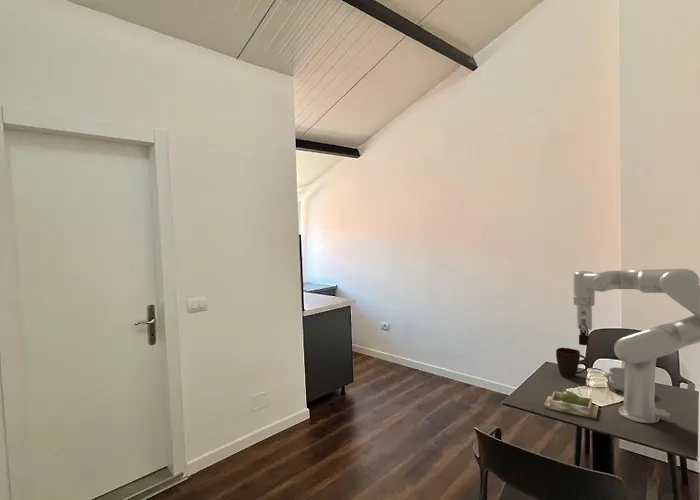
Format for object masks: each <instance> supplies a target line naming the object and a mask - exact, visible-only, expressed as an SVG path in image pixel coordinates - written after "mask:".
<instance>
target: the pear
mask: <svg viewBox="0 0 700 500" xmlns="http://www.w3.org/2000/svg"><path fill="white" fill-rule="evenodd" d="M561 393H562V394H561V400H562V402H565V403H570V404H574V405H579V406H584V407H588V405H589V403H588V402H586V400H585V399H583V398H580V397H579V396H580V395H578V394H577V393H575V392H572V391H570V390H564V391H562V392H561Z"/></svg>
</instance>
